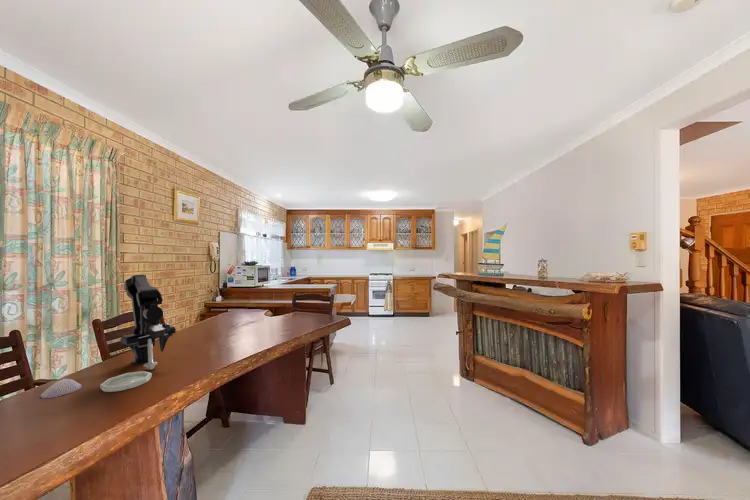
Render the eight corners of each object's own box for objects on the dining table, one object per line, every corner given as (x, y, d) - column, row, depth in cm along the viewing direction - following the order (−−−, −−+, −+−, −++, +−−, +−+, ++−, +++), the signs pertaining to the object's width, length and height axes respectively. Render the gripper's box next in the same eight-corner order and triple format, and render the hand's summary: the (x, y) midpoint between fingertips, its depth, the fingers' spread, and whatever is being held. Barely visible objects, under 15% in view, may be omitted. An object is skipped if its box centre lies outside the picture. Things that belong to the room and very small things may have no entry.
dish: (94, 387, 112) (93, 383, 112) (138, 373, 125) (138, 369, 125) (113, 394, 106) (113, 390, 106) (158, 378, 119) (158, 374, 119)
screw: (158, 365, 133) (157, 369, 129) (144, 368, 131) (142, 372, 127) (157, 336, 133) (156, 338, 129) (143, 338, 131) (141, 340, 127)
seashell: (86, 375, 118) (76, 378, 109) (85, 390, 117) (75, 394, 108) (49, 380, 113) (36, 384, 104) (48, 396, 112) (34, 401, 103)
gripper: (133, 324, 118) (134, 364, 118) (182, 314, 135) (183, 350, 135) (119, 322, 123) (120, 361, 123) (168, 313, 140) (169, 347, 140)
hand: (150, 354), depth 130 cm, fingers open, 9 cm apart
